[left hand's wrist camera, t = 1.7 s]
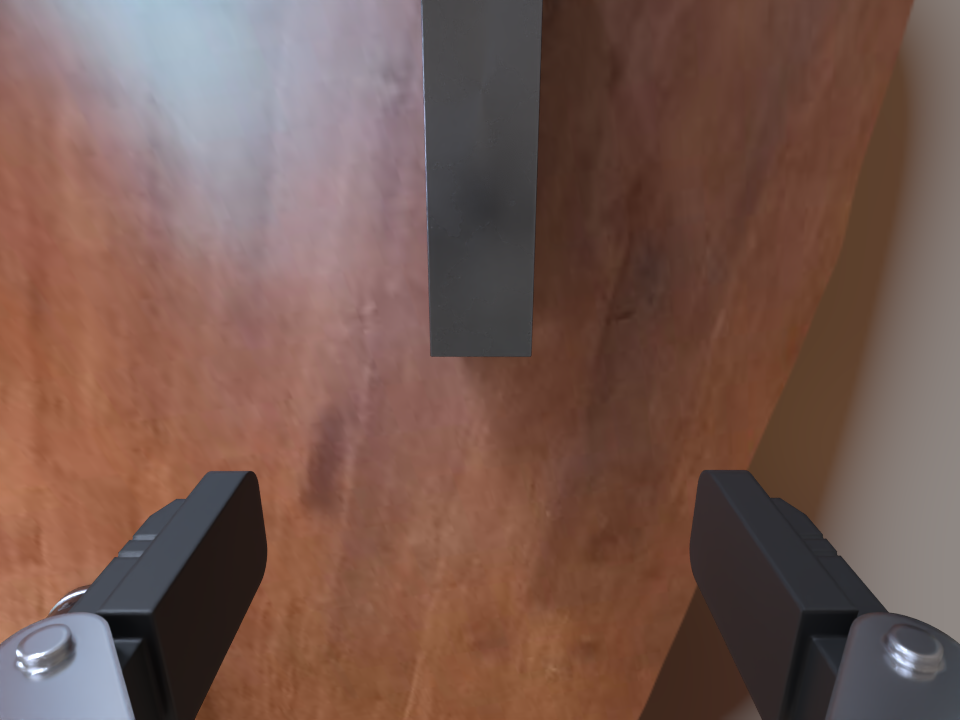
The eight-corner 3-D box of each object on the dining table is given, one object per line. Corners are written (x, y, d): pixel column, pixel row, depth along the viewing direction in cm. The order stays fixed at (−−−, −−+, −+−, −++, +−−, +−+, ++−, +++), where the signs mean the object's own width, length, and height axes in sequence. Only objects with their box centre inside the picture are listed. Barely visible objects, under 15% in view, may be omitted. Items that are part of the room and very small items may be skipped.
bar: (520, 310, 40) (531, 357, 32) (440, 310, 40) (430, 357, 32) (533, -172, 31) (551, -279, 23) (430, -172, 31) (413, -280, 23)
